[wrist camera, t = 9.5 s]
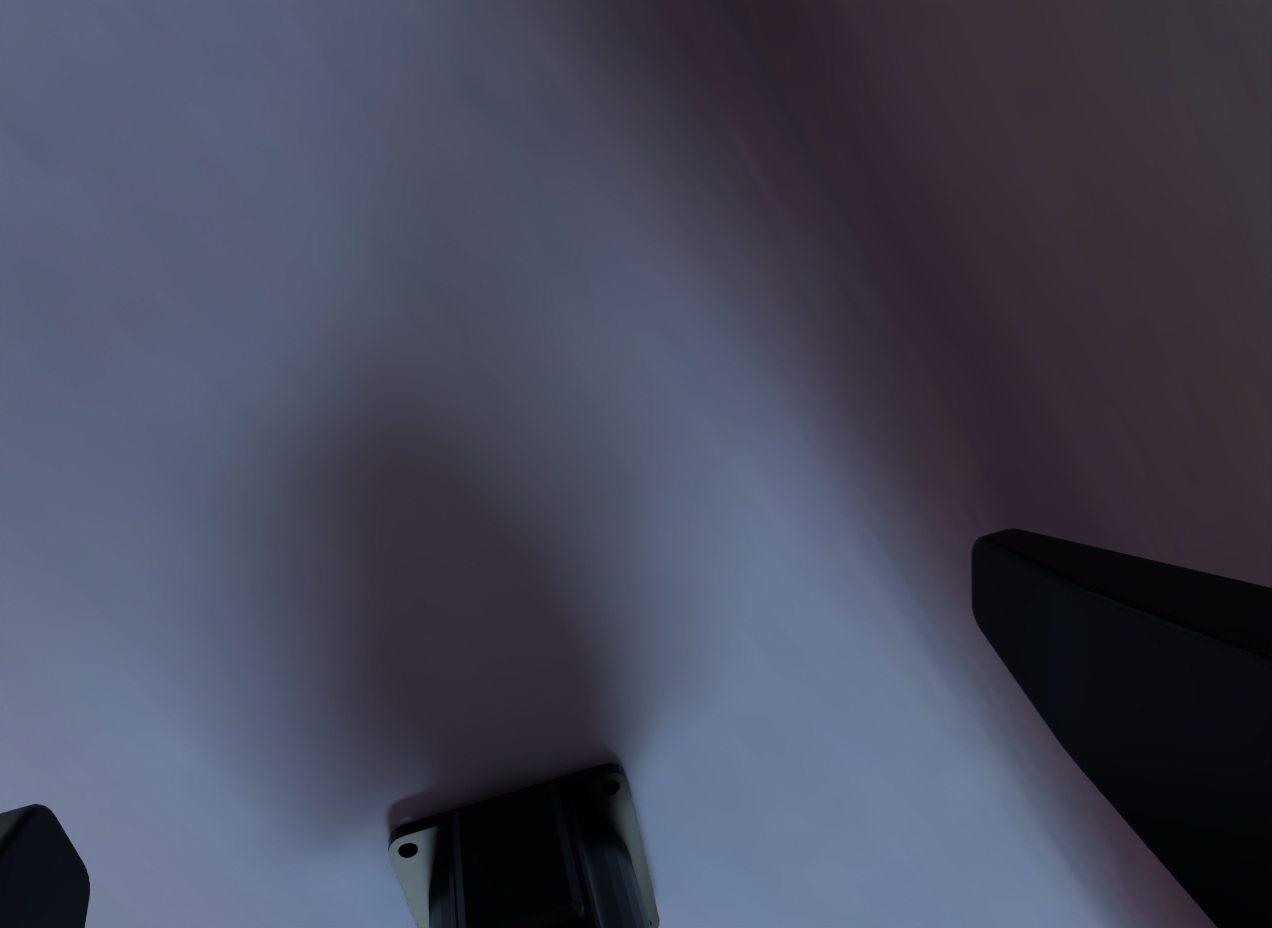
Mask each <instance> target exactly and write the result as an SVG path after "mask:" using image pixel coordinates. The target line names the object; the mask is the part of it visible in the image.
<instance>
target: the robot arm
mask: <svg viewBox="0 0 1272 928" xmlns="http://www.w3.org/2000/svg"><path fill="white" fill-rule="evenodd" d="M971 603H972V610H973V615H974V618H975V620H976V623H977V625H978V627H979V628H980V630H981V632H982V633H983V634H984V636H985V637H986V639H987V640H988V642H989V643H990V645H991V646H992V647H993V649H994V650H995V652H996V653H997V655H998V656H999V658H1000V659H1001V660H1002V662H1003V663H1004V665H1005V666H1006V668H1007V669H1008V671H1009V672H1010V673H1011V675H1012V676H1013V678H1014V679H1015V681H1016V682H1017V684H1018V685H1019V686H1020V688H1021V689H1022V691H1023V692H1024V694H1025V695H1026V697H1027V698H1028V699H1029V701H1030V702H1031V704H1032V705H1033V707H1034V708H1035V710H1036V711H1037V712H1038V714H1039V715H1040V717H1041V718H1042V720H1043V721H1044V723H1045V724H1046V725H1047V727H1048V728H1049V730H1050V731H1051V732H1052V734H1053V735H1054V736H1055V738H1056V739H1057V740H1058V742H1059V743H1060V744H1061V746H1062V747H1063V748H1064V749H1065V751H1066V752H1067V753H1068V754H1069V756H1070V757H1071V758H1072V759H1073V760H1074V762H1075V763H1076V764H1077V765H1078V766H1079V768H1080V769H1081V770H1082V771H1083V772H1084V773H1085V775H1086V776H1087V777H1088V778H1089V779H1090V780H1091V782H1092V783H1093V784H1094V785H1095V786H1096V787H1097V789H1098V790H1099V791H1100V792H1101V793H1102V794H1103V796H1104V797H1105V798H1106V799H1107V800H1108V801H1109V803H1110V804H1111V805H1112V806H1113V807H1114V808H1115V810H1116V811H1117V812H1118V813H1119V814H1120V815H1121V817H1122V818H1123V819H1124V820H1125V821H1126V822H1127V824H1128V825H1129V826H1130V827H1131V828H1132V829H1133V831H1134V832H1135V833H1136V834H1137V835H1138V836H1139V838H1140V839H1141V840H1142V841H1143V842H1144V843H1145V845H1146V846H1147V847H1148V848H1149V849H1150V850H1151V852H1152V853H1153V854H1154V855H1155V856H1156V857H1157V859H1158V860H1159V861H1160V862H1161V863H1162V864H1163V866H1164V867H1165V868H1166V869H1167V870H1168V871H1169V873H1170V874H1171V875H1172V876H1173V877H1174V878H1175V880H1176V881H1177V882H1178V883H1179V884H1180V885H1181V886H1182V888H1183V889H1184V890H1185V891H1186V892H1187V893H1188V895H1189V896H1190V897H1191V898H1192V899H1193V900H1194V902H1195V903H1196V904H1197V905H1198V906H1199V907H1200V909H1201V910H1202V911H1203V912H1204V913H1205V914H1206V916H1207V917H1208V918H1209V919H1210V920H1211V921H1212V923H1213V924H1214V925H1215V926H1216V927H1217V928H1272V588H1270V587H1266V586H1262V585H1257V584H1253V583H1249V582H1244V581H1240V580H1236V579H1231V578H1227V577H1223V576H1218V575H1214V574H1210V573H1206V572H1201V571H1197V570H1193V569H1188V568H1184V567H1180V566H1175V565H1171V564H1167V563H1162V562H1158V561H1154V560H1149V559H1145V558H1141V557H1137V556H1132V555H1128V554H1124V553H1119V552H1115V551H1111V550H1106V549H1102V548H1098V547H1093V546H1089V545H1085V544H1080V543H1076V542H1072V541H1068V540H1063V539H1059V538H1055V537H1050V536H1046V535H1042V534H1037V533H1033V532H1029V531H1024V530H1020V529H1015V528H1013V529H1006V530H1002V531H999V532H995V533H992V534H988V535H985V536H981V537H979V538H978V539H977V540H976V541H975V542H974V543H973V546H972V551H971ZM611 780H614V782H613V783H611V784H610V785H603V784H604V783H606V782H607V781H611ZM405 843H414V844H413V845H411V846H403V844H405ZM388 851H389V857H390V860H391V862H392V865H393V868H394V870H395V873H396V875H397V878H398V880H399V883H400V885H401V888H402V890H403V893H404V895H405V898H406V901H407V903H408V906H409V908H410V911H411V913H412V916H413V918H414V921H415V923H416V926H417V928H658V926H659V916H658V912H657V907H656V903H655V898H654V894H653V889H652V885H651V881H650V876H649V872H648V867H647V863H646V858H645V854H644V849H643V845H642V841H641V836H640V832H639V827H638V823H637V818H636V814H635V810H634V805H633V801H632V796H631V792H630V787H629V783H628V780H627V776H626V773H625V771H624V769H623V767H621V766H620V765H618V764H614V763H607V764H602V765H599V766H596V767H593V768H589V769H586V770H583V771H579V772H576V773H573V774H570V775H566V776H563V777H560V778H556V779H553V780H550V781H546V782H543V783H540V784H537V785H533V786H530V787H527V788H523V789H520V790H517V791H514V792H510V793H507V794H504V795H500V796H497V797H494V798H491V799H487V800H484V801H481V802H477V803H474V804H471V805H467V806H464V807H461V808H458V809H454V810H451V811H448V812H444V813H441V814H438V815H435V816H431V817H428V818H425V819H421V820H418V821H415V822H412V823H408V824H405V825H402V826H400V827H398V828H396V829H395V830H394V831H393V832H392V833H391V835H390V837H389V847H388ZM89 896H90V882H89V876H88V873H87V869H86V867H85V865H84V863H83V861H82V860H81V858H80V856H79V855H78V853H77V851H76V850H75V848H74V846H73V845H72V843H71V841H70V840H69V838H68V836H67V834H66V833H65V831H64V829H63V828H62V826H61V824H60V823H59V821H58V819H57V818H56V816H55V815H54V813H53V812H52V811H51V810H50V809H49V808H47V807H46V806H44V805H39V804H32V805H29V806H25V807H22V808H18V809H15V810H11V811H7V812H4V813H0V928H85V922H86V916H87V909H88V903H89Z"/></svg>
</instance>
